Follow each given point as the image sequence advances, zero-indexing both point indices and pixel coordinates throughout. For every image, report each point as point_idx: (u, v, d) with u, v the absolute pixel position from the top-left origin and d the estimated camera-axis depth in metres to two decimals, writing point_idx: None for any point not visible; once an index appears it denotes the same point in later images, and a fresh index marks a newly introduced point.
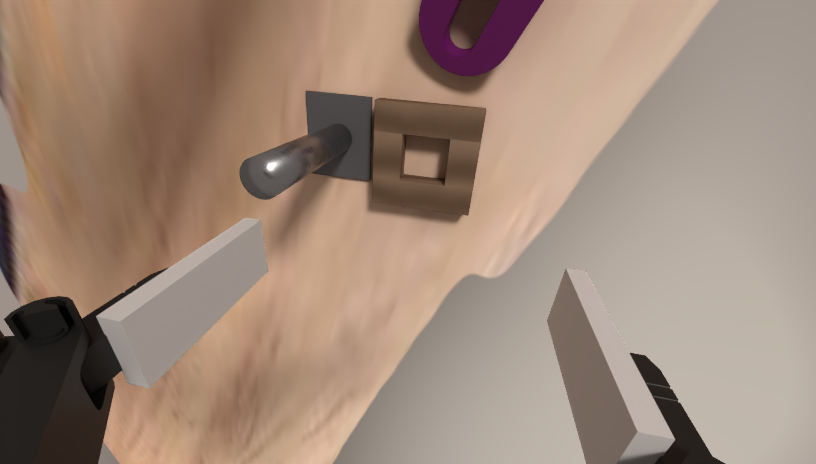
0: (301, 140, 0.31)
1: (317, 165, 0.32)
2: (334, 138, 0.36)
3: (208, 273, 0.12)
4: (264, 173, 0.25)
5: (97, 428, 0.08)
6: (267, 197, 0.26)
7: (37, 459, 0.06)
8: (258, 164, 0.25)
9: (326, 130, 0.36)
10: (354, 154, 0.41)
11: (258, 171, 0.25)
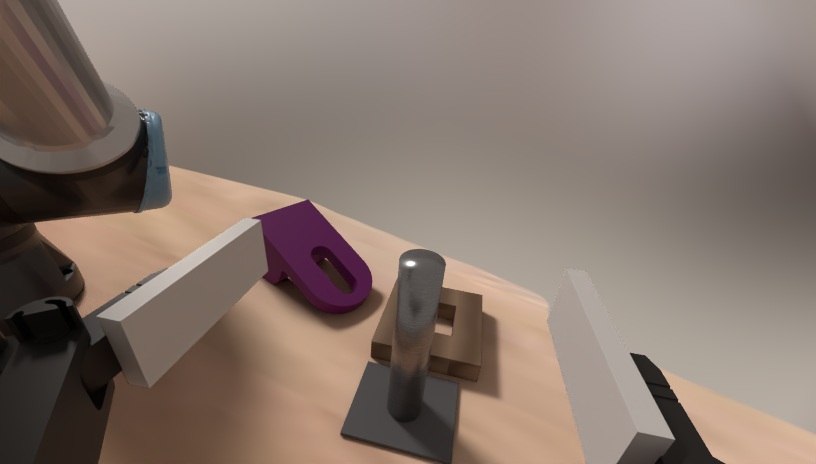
0: None
1: None
2: None
3: (208, 273, 0.12)
4: (417, 256, 0.25)
5: (97, 428, 0.08)
6: (443, 261, 0.24)
7: (37, 459, 0.06)
8: (407, 258, 0.24)
9: None
10: (425, 392, 0.34)
11: (414, 260, 0.24)
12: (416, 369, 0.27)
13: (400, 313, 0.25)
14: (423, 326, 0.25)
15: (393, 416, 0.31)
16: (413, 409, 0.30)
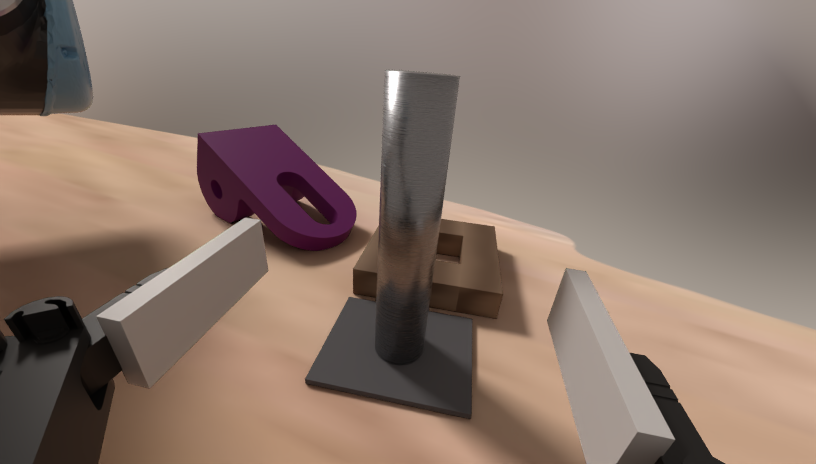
0: None
1: None
2: None
3: (208, 273, 0.12)
4: None
5: (97, 428, 0.08)
6: None
7: (37, 459, 0.06)
8: None
9: None
10: (428, 329, 0.24)
11: None
12: (416, 271, 0.18)
13: (388, 168, 0.16)
14: (425, 186, 0.16)
15: (383, 357, 0.21)
16: (412, 342, 0.21)
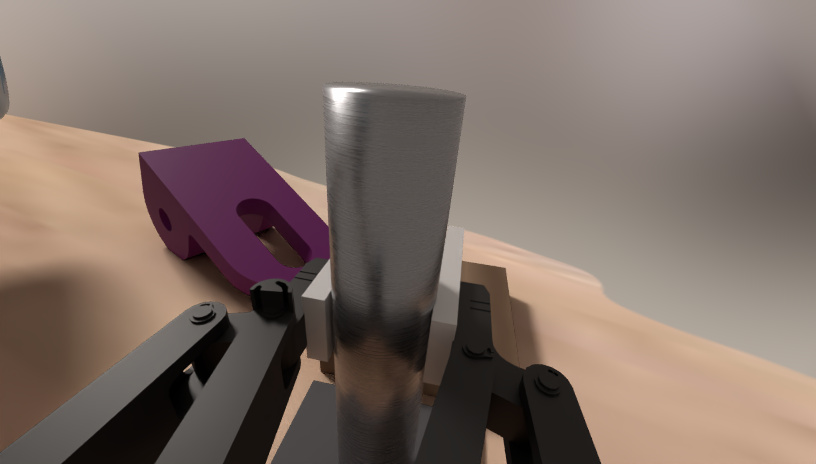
0: None
1: None
2: None
3: None
4: (380, 86, 0.08)
5: (280, 407, 0.09)
6: (457, 93, 0.08)
7: (236, 437, 0.07)
8: (350, 84, 0.08)
9: None
10: (419, 439, 0.17)
11: (371, 87, 0.08)
12: (392, 408, 0.11)
13: (337, 258, 0.09)
14: (403, 291, 0.09)
15: None
16: None
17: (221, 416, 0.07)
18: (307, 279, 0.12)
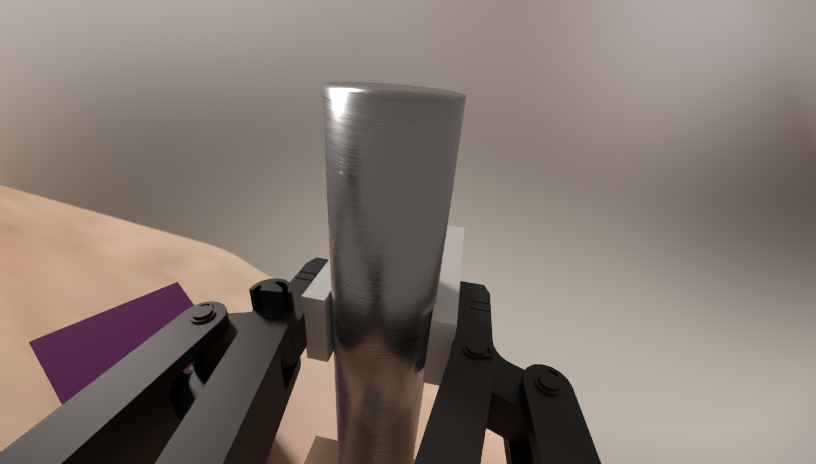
0: None
1: None
2: None
3: None
4: (380, 86, 0.08)
5: (280, 407, 0.09)
6: (457, 93, 0.08)
7: (236, 438, 0.07)
8: (349, 84, 0.08)
9: None
10: None
11: (370, 87, 0.08)
12: (392, 408, 0.11)
13: (337, 257, 0.09)
14: (403, 291, 0.09)
15: None
16: None
17: (221, 416, 0.07)
18: (307, 279, 0.12)
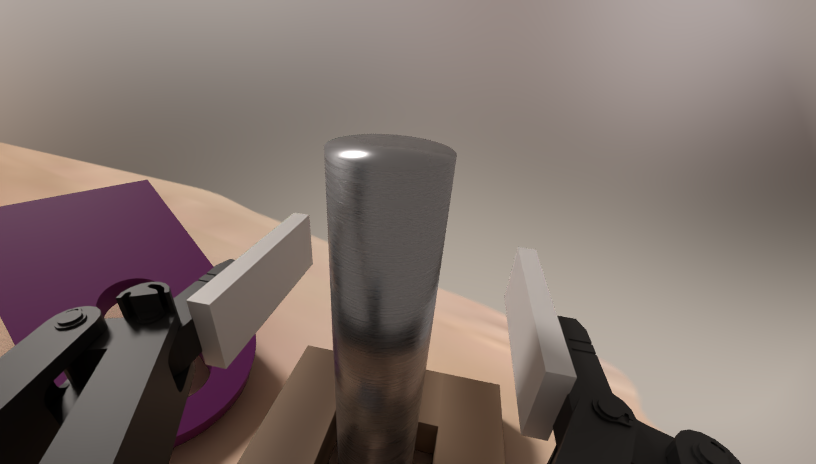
0: None
1: None
2: None
3: (270, 264, 0.13)
4: (377, 142, 0.09)
5: (176, 409, 0.09)
6: (449, 151, 0.09)
7: (125, 439, 0.06)
8: (349, 142, 0.09)
9: None
10: None
11: (368, 145, 0.09)
12: (389, 434, 0.12)
13: (337, 299, 0.10)
14: (399, 331, 0.09)
15: None
16: None
17: (102, 425, 0.07)
18: None
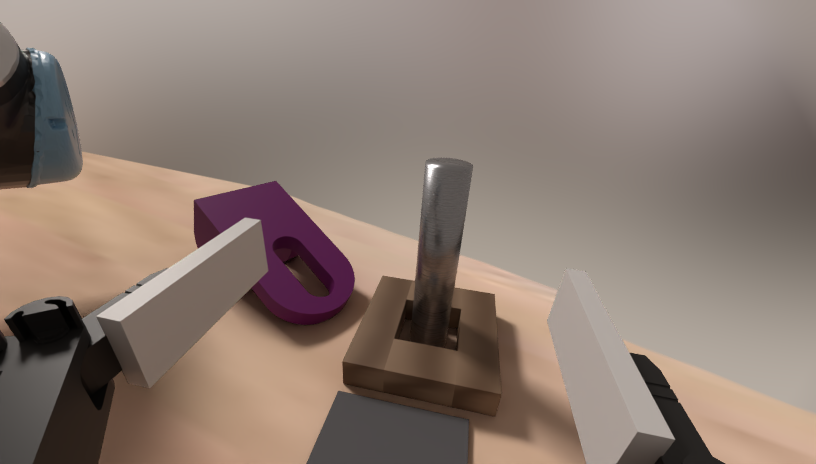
0: None
1: None
2: None
3: (208, 273, 0.12)
4: (442, 161, 0.24)
5: (97, 428, 0.08)
6: (470, 164, 0.24)
7: (37, 459, 0.06)
8: (433, 161, 0.24)
9: None
10: (421, 436, 0.23)
11: (440, 163, 0.24)
12: (443, 287, 0.27)
13: (426, 222, 0.25)
14: (450, 233, 0.24)
15: None
16: (439, 337, 0.29)
17: (6, 451, 0.06)
18: None
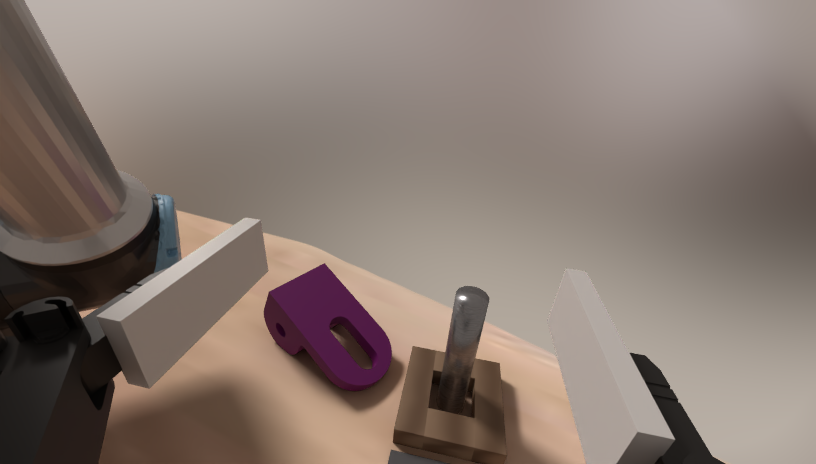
0: None
1: None
2: None
3: (208, 273, 0.12)
4: (467, 292, 0.34)
5: (97, 428, 0.08)
6: (486, 296, 0.34)
7: (37, 459, 0.06)
8: (461, 294, 0.34)
9: None
10: None
11: (466, 295, 0.34)
12: (465, 374, 0.37)
13: (455, 333, 0.35)
14: (472, 342, 0.35)
15: (443, 410, 0.40)
16: (459, 404, 0.40)
17: (6, 450, 0.06)
18: None
